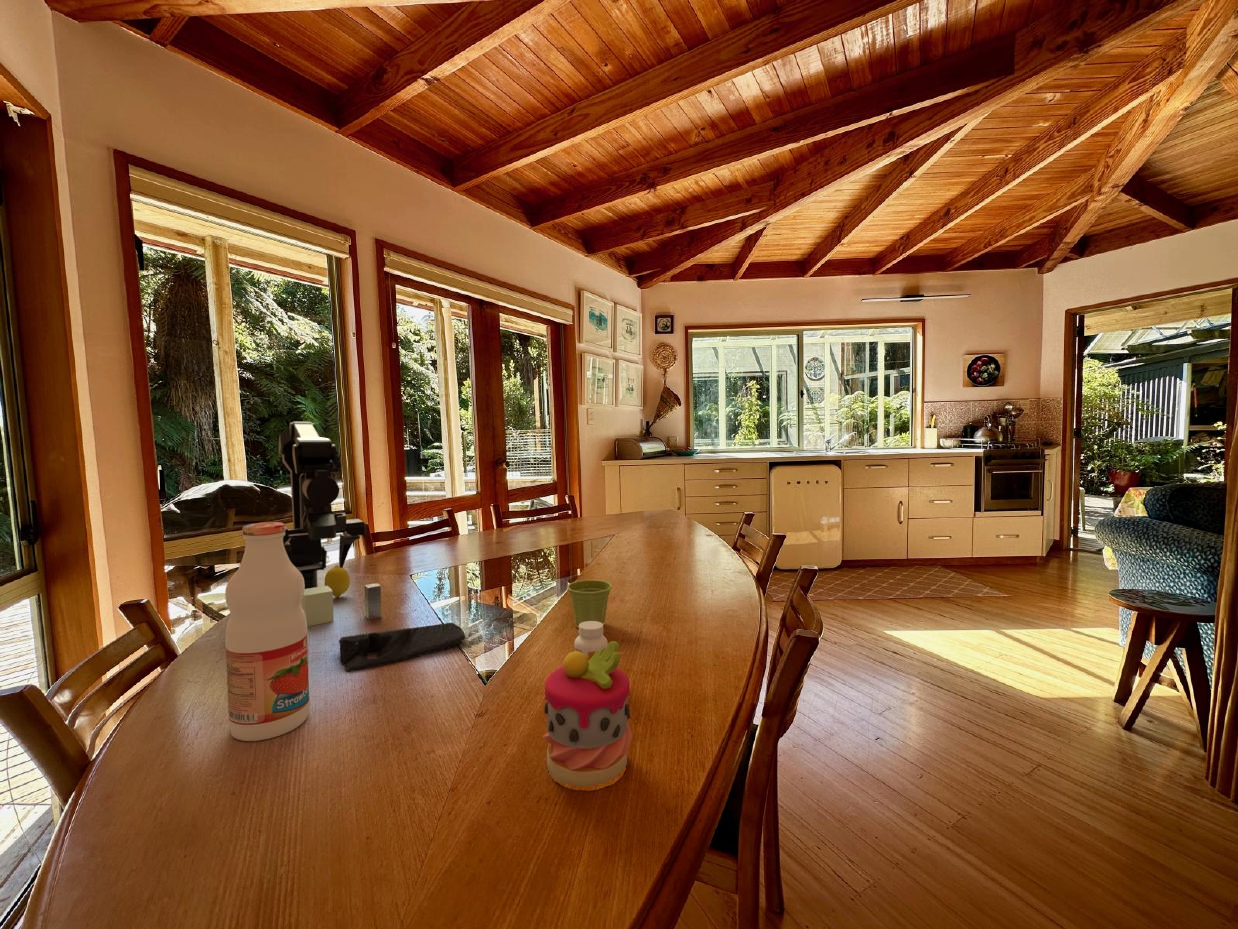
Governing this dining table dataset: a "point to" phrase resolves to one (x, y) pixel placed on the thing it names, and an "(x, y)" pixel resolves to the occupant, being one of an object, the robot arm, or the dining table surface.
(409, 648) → the dark slate chunk
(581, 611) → the plant pot
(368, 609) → the post
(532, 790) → the dining table surface
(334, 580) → the lemon
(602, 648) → the supplement bottle
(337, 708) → the dining table surface
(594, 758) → the cake
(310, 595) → the cream rectangular block
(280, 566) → the fruit juice
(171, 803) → the dining table surface
